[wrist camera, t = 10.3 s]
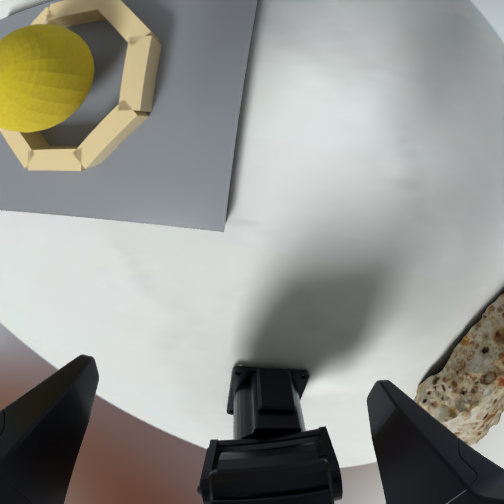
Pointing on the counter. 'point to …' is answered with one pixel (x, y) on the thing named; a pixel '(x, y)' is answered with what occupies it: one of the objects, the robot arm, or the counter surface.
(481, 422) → the rock
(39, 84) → the lemon
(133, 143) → the plate
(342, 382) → the counter surface
